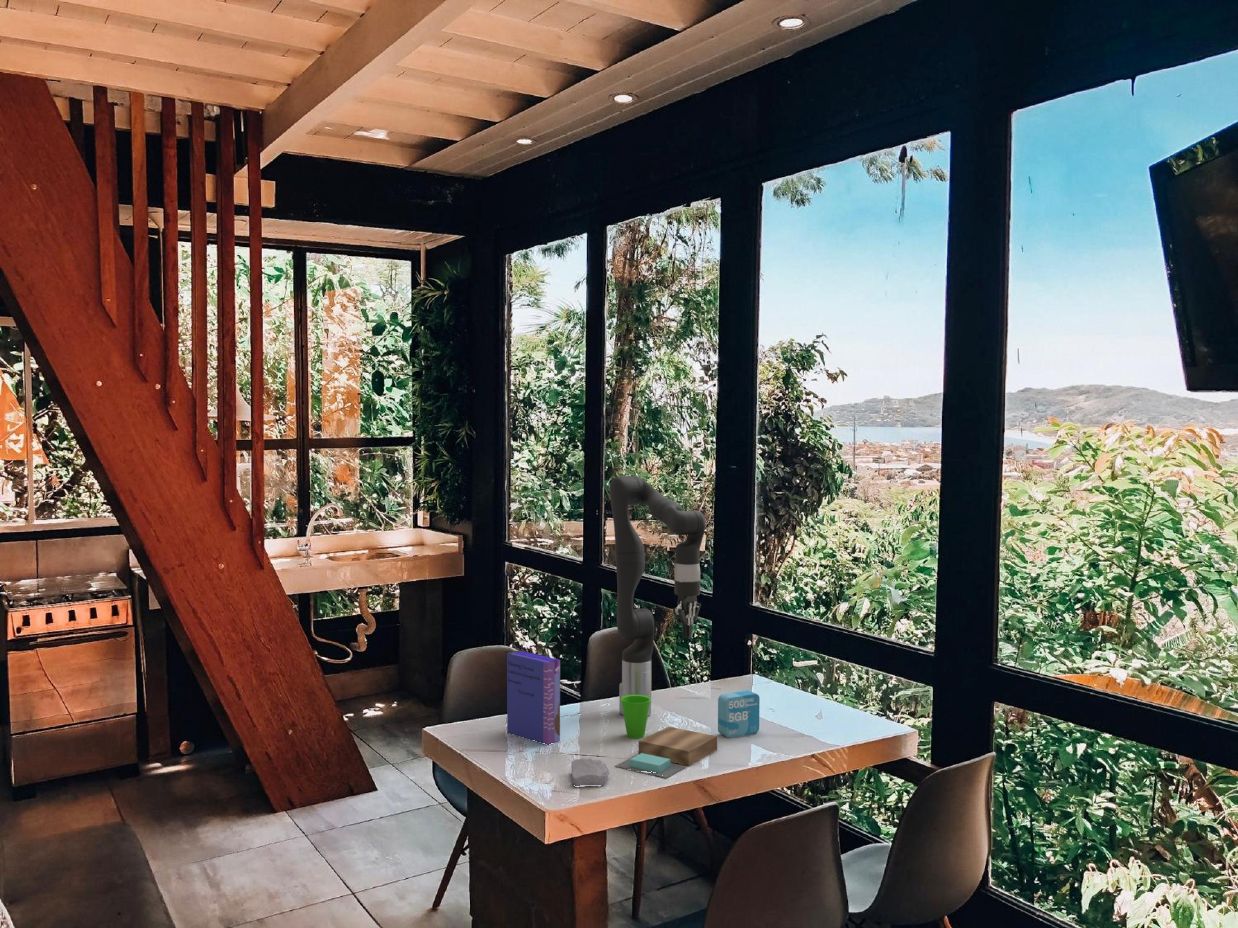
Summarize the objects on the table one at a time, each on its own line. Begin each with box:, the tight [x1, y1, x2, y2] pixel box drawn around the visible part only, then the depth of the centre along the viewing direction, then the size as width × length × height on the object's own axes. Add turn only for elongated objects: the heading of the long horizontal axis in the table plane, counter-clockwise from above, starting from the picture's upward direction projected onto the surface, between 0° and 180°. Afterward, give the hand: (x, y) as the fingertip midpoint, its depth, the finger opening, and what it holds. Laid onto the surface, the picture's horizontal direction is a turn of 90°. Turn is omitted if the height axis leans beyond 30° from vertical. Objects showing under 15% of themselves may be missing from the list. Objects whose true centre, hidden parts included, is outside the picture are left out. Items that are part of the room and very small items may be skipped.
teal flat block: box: [630, 753, 672, 773], centre depth 263 cm, size 9×6×2 cm, turn 57°
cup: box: [620, 695, 652, 739], centre depth 290 cm, size 9×9×11 cm
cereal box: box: [506, 650, 561, 746], centre depth 288 cm, size 17×5×24 cm, turn 48°
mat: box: [614, 755, 687, 779], centre depth 263 cm, size 16×10×1 cm, turn 56°
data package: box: [717, 690, 761, 739], centre depth 293 cm, size 12×4×12 cm, turn 118°
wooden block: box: [637, 726, 718, 767], centre depth 275 cm, size 16×16×4 cm
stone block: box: [571, 758, 610, 786], centre depth 254 cm, size 12×5×10 cm
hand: (687, 637), depth 290 cm, fingers closed
